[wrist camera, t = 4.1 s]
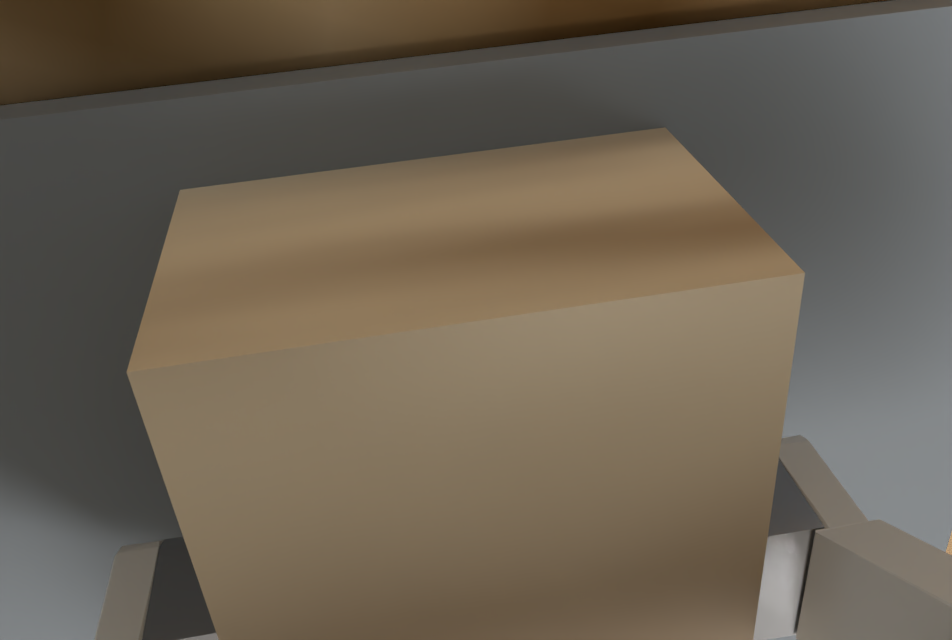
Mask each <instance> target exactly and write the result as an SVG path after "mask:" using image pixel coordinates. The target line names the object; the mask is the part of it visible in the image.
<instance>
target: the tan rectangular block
mask: <svg viewBox="0 0 952 640" xmlns="http://www.w3.org/2000/svg"><path fill="white" fill-rule="evenodd" d="M804 277H805V272H804V271H803V270H802V269H801V268H800V267H799V266H798V265H797V264H796V263H795V262H794V261H793V260H792V259H791V258H790V257H789V256H788V255H787V254H786V253H785V251H784V250H783V249H782V248H781V247H780V246H779V245H778V244H777V243H776V242H775V241H774V240H773V239H772V238H771V237H770V236H769V235H768V234H767V233H766V232H765V231H764V230H763V229H762V228H761V227H760V225H759V224H758V223H757V222H756V221H755V220H754V219H753V218H752V217H751V216H750V215H749V214H748V213H747V212H746V211H745V210H744V209H743V208H742V207H741V206H740V205H739V204H738V203H737V202H736V201H735V199H734V198H733V197H732V196H731V195H730V194H729V193H728V192H727V191H726V190H725V189H724V188H723V187H722V186H721V185H720V184H719V183H718V182H717V181H716V180H715V179H714V178H713V177H712V176H711V174H710V173H709V172H708V171H707V170H706V169H705V168H704V167H703V166H702V165H701V164H700V163H699V162H698V161H697V160H696V159H695V158H694V157H693V156H692V155H691V154H690V153H689V152H688V151H687V150H686V148H685V147H684V146H683V145H682V144H681V143H680V142H679V141H678V140H677V139H676V138H675V137H674V136H673V135H672V134H671V133H670V132H669V131H668V130H667V129H666V128H665V127H664V128H656V129H648V130H641V131H633V132H625V133H617V134H610V135H602V136H594V137H586V138H578V139H571V140H563V141H555V142H547V143H540V144H532V145H524V146H516V147H509V148H501V149H493V150H485V151H478V152H470V153H462V154H454V155H447V156H439V157H431V158H423V159H415V160H408V161H400V162H392V163H384V164H377V165H369V166H361V167H353V168H346V169H338V170H330V171H322V172H315V173H307V174H299V175H291V176H284V177H276V178H268V179H260V180H252V181H245V182H237V183H229V184H221V185H214V186H206V187H198V188H190V189H183V190H180V191H179V195H178V198H177V202H176V205H175V208H174V212H173V215H172V219H171V222H170V225H169V229H168V232H167V236H166V239H165V243H164V246H163V249H162V253H161V256H160V260H159V263H158V266H157V270H156V273H155V277H154V280H153V283H152V287H151V290H150V294H149V297H148V301H147V304H146V307H145V311H144V314H143V318H142V321H141V324H140V328H139V331H138V335H137V338H136V341H135V345H134V348H133V352H132V355H131V359H130V362H129V365H128V369H127V375H128V378H129V381H130V384H131V387H132V390H133V393H134V396H135V399H136V401H137V404H138V407H139V410H140V413H141V416H142V419H143V422H144V425H145V428H146V430H147V433H148V436H149V439H150V442H151V445H152V448H153V451H154V454H155V456H156V459H157V462H158V465H159V468H160V471H161V474H162V477H163V480H164V483H165V485H166V488H167V491H168V494H169V497H170V500H171V503H172V506H173V509H174V512H175V514H176V517H177V520H178V523H179V526H180V529H181V532H182V535H183V538H184V541H185V543H186V546H187V549H188V552H189V555H190V558H191V561H192V564H193V567H194V570H195V572H196V575H197V578H198V581H199V584H200V587H201V590H202V593H203V596H204V598H205V601H206V604H207V607H208V610H209V613H210V616H211V619H212V622H213V625H214V627H215V630H216V633H217V636H218V639H219V640H753V637H754V630H755V623H756V616H757V609H758V602H759V595H760V588H761V581H762V574H763V567H764V559H765V552H766V545H767V538H768V531H769V524H770V517H771V510H772V503H773V496H774V489H775V482H776V475H777V468H778V461H779V453H780V446H781V439H782V432H783V425H784V418H785V411H786V404H787V397H788V390H789V383H790V376H791V369H792V362H793V355H794V347H795V340H796V333H797V326H798V319H799V312H800V305H801V298H802V291H803V284H804Z"/></svg>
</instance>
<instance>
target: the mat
mask: <svg viewBox="0 0 952 640" xmlns="http://www.w3.org/2000/svg"><path fill="white" fill-rule="evenodd" d="M664 127H665V128H666V129H667V130H668V131H669V132H670V133H671V134H672V135H673V136H674V137H675V138H676V139H677V140H678V141H679V142H680V143H681V144H682V145H683V146H684V147H685V148H686V150H687V151H688V152H689V153H690V154H691V155H692V156H693V157H694V158H695V159H696V160H697V161H698V162H699V163H700V164H701V165H702V166H703V167H704V168H705V169H706V170H707V171H708V172H709V173H710V174H711V176H712V177H713V178H714V179H715V180H716V181H717V182H718V183H719V184H720V185H721V186H722V187H723V188H724V189H725V190H726V191H727V192H728V193H729V194H730V195H731V196H732V197H733V198H734V199H735V201H736V202H737V203H738V204H739V205H740V206H741V207H742V208H743V209H744V210H745V211H746V212H747V213H748V214H749V215H750V216H751V217H752V218H753V219H754V220H755V221H756V222H757V223H758V224H759V225H760V227H761V228H762V229H763V230H764V231H765V232H766V233H767V234H768V235H769V236H770V237H771V238H772V239H773V240H774V241H775V242H776V243H777V244H778V245H779V246H780V247H781V248H782V249H783V250H784V251H785V253H786V254H787V255H788V256H789V257H790V258H791V259H792V260H793V261H794V262H795V263H796V264H797V265H798V266H799V267H800V268H801V269H802V270H803V271H804V272H805V277H804V284H803V291H802V298H801V305H800V312H799V319H798V326H797V333H796V340H795V347H794V355H793V362H792V369H791V376H790V383H789V390H788V397H787V404H786V411H785V418H784V425H783V432H782V438H785V437H791V436H797V435H801V436H803V437H805V438H806V439H808V440H809V442H810V443H811V444H812V446H813V447H814V449H815V450H816V451H817V453H818V454H819V455H820V457H821V458H822V459H823V461H824V462H825V463H826V465H827V466H828V467H829V469H830V470H831V471H832V473H833V474H834V475H835V477H836V478H837V479H838V481H839V482H840V483H841V485H842V486H843V487H844V489H845V490H846V491H847V493H848V494H849V495H850V497H851V498H852V499H853V501H854V502H855V503H856V505H857V506H858V507H859V509H860V510H861V511H862V513H863V514H864V515H865V517H866V518H867V519H868V521H872V520H879V519H880V520H882V521H884V522H886V523H888V524H890V525H892V526H894V527H896V528H898V529H900V530H902V531H904V532H906V533H908V534H910V535H912V536H914V537H916V538H918V539H920V540H922V541H924V542H926V543H928V544H930V545H932V546H934V547H936V548H938V549H940V550H942V551H944V552H946V548H947V545H948V542H949V538H950V535H951V531H952V0H890V1H881V2H873V3H864V4H856V5H847V6H839V7H831V8H822V9H814V10H805V11H797V12H788V13H780V14H771V15H763V16H754V17H746V18H737V19H729V20H720V21H712V22H704V23H695V24H687V25H678V26H670V27H661V28H653V29H644V30H636V31H627V32H619V33H610V34H602V35H594V36H585V37H577V38H568V39H560V40H551V41H543V42H534V43H526V44H517V45H509V46H500V47H492V48H483V49H475V50H467V51H458V52H450V53H441V54H433V55H424V56H416V57H407V58H399V59H390V60H382V61H373V62H365V63H357V64H348V65H340V66H331V67H323V68H314V69H306V70H297V71H289V72H280V73H272V74H263V75H255V76H246V77H238V78H230V79H221V80H213V81H204V82H196V83H187V84H179V85H170V86H162V87H153V88H145V89H136V90H128V91H120V92H111V93H103V94H94V95H86V96H77V97H69V98H60V99H52V100H43V101H35V102H26V103H18V104H9V105H1V106H0V640H94V639H95V635H96V631H97V627H98V623H99V619H100V614H101V610H102V606H103V602H104V598H105V594H106V590H107V586H108V582H109V578H110V574H111V570H112V565H113V561H114V557H115V555H116V554H117V552H118V551H119V550H120V548H121V547H122V546H125V545H133V544H140V543H148V542H155V541H163V540H164V539H169V538H177V537H183V535H182V532H181V529H180V526H179V523H178V520H177V517H176V514H175V512H174V509H173V506H172V503H171V500H170V497H169V494H168V491H167V488H166V485H165V483H164V480H163V477H162V474H161V471H160V468H159V465H158V462H157V459H156V456H155V454H154V451H153V448H152V445H151V442H150V439H149V436H148V433H147V430H146V428H145V425H144V422H143V419H142V416H141V413H140V410H139V407H138V404H137V401H136V399H135V396H134V393H133V390H132V387H131V384H130V381H129V378H128V375H127V369H128V365H129V362H130V359H131V355H132V352H133V348H134V345H135V341H136V338H137V335H138V331H139V328H140V324H141V321H142V318H143V314H144V311H145V307H146V304H147V301H148V297H149V294H150V290H151V287H152V283H153V280H154V277H155V273H156V270H157V266H158V263H159V260H160V256H161V253H162V249H163V246H164V243H165V239H166V236H167V232H168V229H169V225H170V222H171V219H172V215H173V212H174V208H175V205H176V202H177V198H178V195H179V191H180V190H183V189H190V188H198V187H206V186H214V185H221V184H229V183H237V182H245V181H252V180H260V179H268V178H276V177H284V176H291V175H299V174H307V173H315V172H322V171H330V170H338V169H346V168H353V167H361V166H369V165H377V164H384V163H392V162H400V161H408V160H415V159H423V158H431V157H439V156H447V155H454V154H462V153H470V152H478V151H485V150H493V149H501V148H509V147H516V146H524V145H532V144H540V143H547V142H555V141H563V140H571V139H578V138H586V137H594V136H602V135H610V134H617V133H625V132H633V131H641V130H648V129H656V128H664ZM767 640H797V639H796V635H793V636H786V637H780V638H774V639H767Z"/></svg>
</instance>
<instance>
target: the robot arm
mask: <svg viewBox="0 0 952 640" xmlns="http://www.w3.org/2000/svg"><path fill="white" fill-rule="evenodd" d="M793 635H796V639H797V640H952V555H950V554H948V553H946V552H944V551H942V550H940V549H938V548H936V547H934V546H932V545H930V544H928V543H926V542H924V541H922V540H920V539H918V538H916V537H914V536H912V535H910V534H908V533H906V532H904V531H902V530H900V529H898V528H896V527H894V526H892V525H890V524H888V523H886V522H884V521H882V520H880V519H879V520H872V521H868V519H867V518H866V517H865V515H864V514H863V513H862V511H861V510H860V509H859V507H858V506H857V505H856V503H855V502H854V501H853V499H852V498H851V497H850V495H849V494H848V493H847V491H846V490H845V489H844V487H843V486H842V485H841V483H840V482H839V481H838V479H837V478H836V477H835V475H834V474H833V473H832V471H831V470H830V469H829V467H828V466H827V465H826V463H825V462H824V461H823V459H822V458H821V457H820V455H819V454H818V453H817V451H816V450H815V449H814V447H813V446H812V444H811V443H810V442H809V440H808V439H806V438H805V437H803V436H801V435H797V436H791V437H785V438H782V439H781V446H780V453H779V461H778V468H777V475H776V482H775V489H774V496H773V503H772V510H771V517H770V524H769V531H768V538H767V545H766V552H765V559H764V567H763V574H762V581H761V588H760V595H759V602H758V609H757V616H756V623H755V630H754V637H753V640H767V639H774V638H780V637H786V636H793ZM94 640H219V639H218V636H217V633H216V630H215V627H214V625H213V622H212V619H211V616H210V613H209V610H208V607H207V604H206V601H205V598H204V596H203V593H202V590H201V587H200V584H199V581H198V578H197V575H196V572H195V570H194V567H193V564H192V561H191V558H190V555H189V552H188V549H187V546H186V543H185V541H184V538H183V537H177V538H169V539H164V540H163V541H155V542H148V543H140V544H133V545H125V546H122V547H121V548H120V550H119V551H118V552H117V554H116V555H115V557H114V561H113V565H112V570H111V574H110V578H109V582H108V586H107V590H106V594H105V598H104V602H103V606H102V610H101V614H100V619H99V623H98V627H97V631H96V635H95V639H94Z"/></svg>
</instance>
